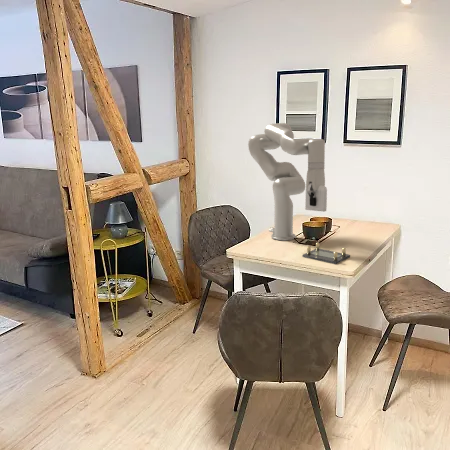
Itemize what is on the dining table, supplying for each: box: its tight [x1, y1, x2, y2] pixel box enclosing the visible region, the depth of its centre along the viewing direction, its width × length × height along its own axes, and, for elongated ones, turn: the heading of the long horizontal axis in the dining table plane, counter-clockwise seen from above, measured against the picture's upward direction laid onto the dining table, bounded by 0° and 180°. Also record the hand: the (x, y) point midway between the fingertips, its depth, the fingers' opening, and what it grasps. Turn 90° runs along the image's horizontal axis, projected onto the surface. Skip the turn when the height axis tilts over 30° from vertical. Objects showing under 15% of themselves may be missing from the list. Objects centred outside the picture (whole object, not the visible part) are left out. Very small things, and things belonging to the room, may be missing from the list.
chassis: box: [302, 242, 351, 265], centre depth 214 cm, size 17×13×4 cm
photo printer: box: [304, 185, 328, 212], centre depth 221 cm, size 10×4×12 cm, turn 57°
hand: (315, 204), depth 222 cm, fingers closed on photo printer, 4 cm apart
